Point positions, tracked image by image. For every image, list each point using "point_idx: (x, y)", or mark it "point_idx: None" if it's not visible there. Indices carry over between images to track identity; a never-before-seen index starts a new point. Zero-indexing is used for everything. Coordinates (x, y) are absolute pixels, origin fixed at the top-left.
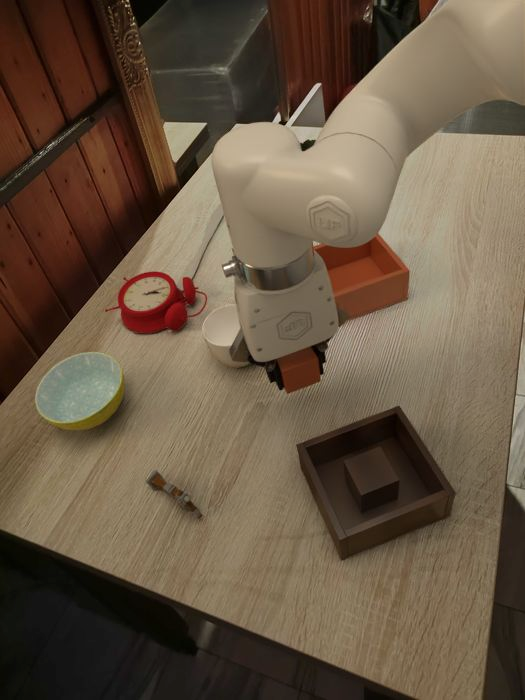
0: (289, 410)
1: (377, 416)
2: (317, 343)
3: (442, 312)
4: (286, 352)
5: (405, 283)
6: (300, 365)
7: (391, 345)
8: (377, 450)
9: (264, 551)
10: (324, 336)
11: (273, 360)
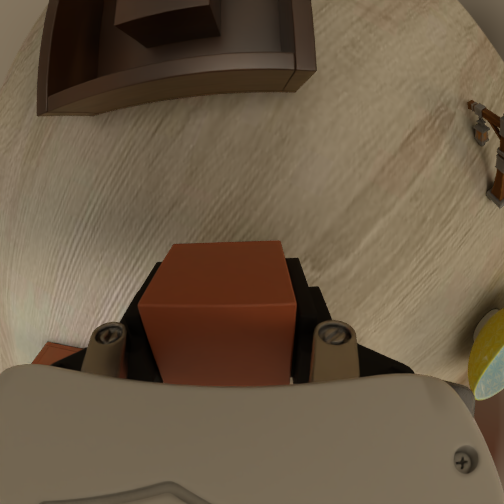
0: (268, 230)
1: (80, 91)
2: (113, 361)
3: (15, 303)
4: (278, 407)
5: (35, 362)
6: (212, 303)
7: (65, 287)
8: (124, 15)
9: (395, 7)
10: (34, 387)
11: (323, 360)
